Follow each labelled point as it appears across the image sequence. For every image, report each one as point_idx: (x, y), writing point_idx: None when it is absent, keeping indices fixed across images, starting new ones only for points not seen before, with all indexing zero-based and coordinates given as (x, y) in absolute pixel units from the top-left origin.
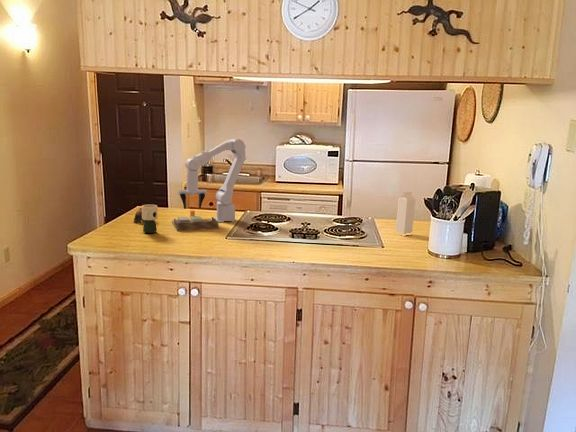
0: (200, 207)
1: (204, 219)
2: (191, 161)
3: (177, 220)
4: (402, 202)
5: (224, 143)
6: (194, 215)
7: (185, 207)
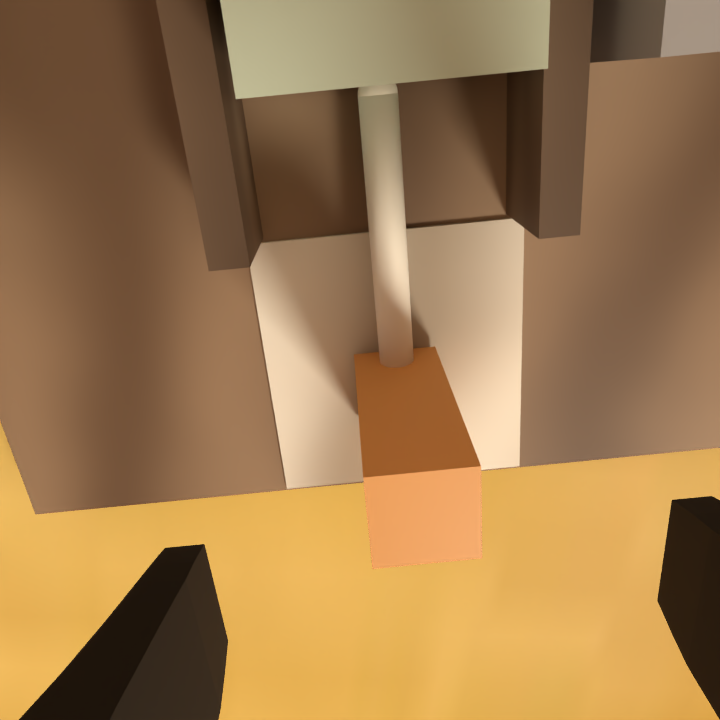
0: (161, 561)
1: (151, 470)
2: None
3: (667, 435)
4: None
5: None
6: (363, 407)
7: (713, 519)
